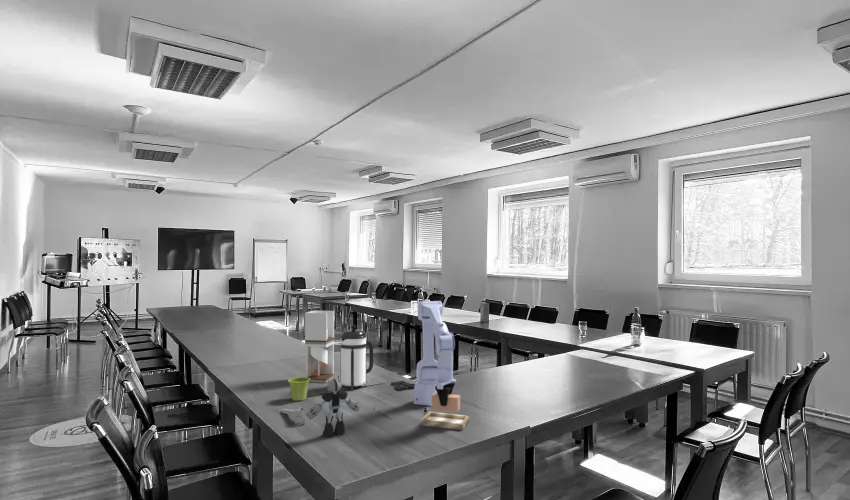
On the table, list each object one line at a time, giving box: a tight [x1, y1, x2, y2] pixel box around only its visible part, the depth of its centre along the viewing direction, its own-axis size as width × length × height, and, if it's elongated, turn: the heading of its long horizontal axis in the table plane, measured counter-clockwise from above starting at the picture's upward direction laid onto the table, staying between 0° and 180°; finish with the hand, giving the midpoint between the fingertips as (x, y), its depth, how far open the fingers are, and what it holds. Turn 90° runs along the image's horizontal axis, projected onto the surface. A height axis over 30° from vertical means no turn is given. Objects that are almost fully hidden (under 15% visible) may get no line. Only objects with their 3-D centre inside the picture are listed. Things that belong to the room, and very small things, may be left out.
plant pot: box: [287, 376, 310, 402], centre depth 205 cm, size 9×9×9 cm
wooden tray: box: [420, 411, 470, 431], centre depth 173 cm, size 16×10×2 cm, turn 71°
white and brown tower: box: [304, 310, 335, 384], centre depth 239 cm, size 11×11×35 cm
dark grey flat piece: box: [390, 380, 415, 392], centre depth 227 cm, size 20×25×3 cm
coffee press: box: [339, 324, 374, 391], centre depth 227 cm, size 17×16×30 cm
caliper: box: [280, 406, 306, 426], centre depth 180 cm, size 21×1×6 cm, turn 39°
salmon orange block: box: [431, 393, 461, 413], centre depth 173 cm, size 10×4×5 cm, turn 71°
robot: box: [305, 375, 361, 438], centre depth 163 cm, size 20×5×20 cm, turn 120°
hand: (445, 403), depth 174 cm, fingers closed on salmon orange block, 4 cm apart
